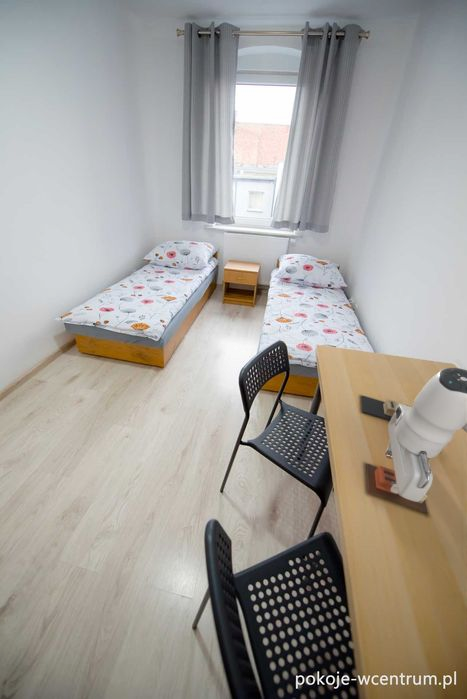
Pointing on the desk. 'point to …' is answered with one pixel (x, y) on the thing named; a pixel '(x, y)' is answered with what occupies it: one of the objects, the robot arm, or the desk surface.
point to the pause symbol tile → (384, 478)
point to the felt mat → (374, 408)
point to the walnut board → (388, 495)
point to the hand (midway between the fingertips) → (390, 471)
